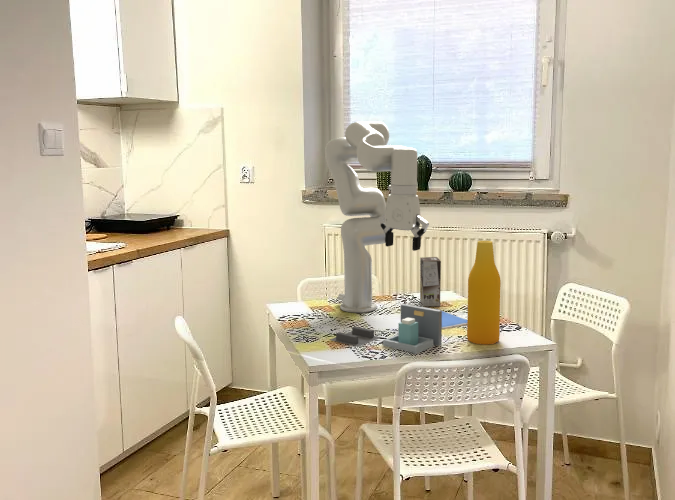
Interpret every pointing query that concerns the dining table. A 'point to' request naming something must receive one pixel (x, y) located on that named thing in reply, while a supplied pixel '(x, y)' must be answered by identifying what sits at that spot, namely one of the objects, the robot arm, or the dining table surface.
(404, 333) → the plug
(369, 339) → the grey ridged plate
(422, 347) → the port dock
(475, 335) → the beer bottle
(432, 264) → the coffee box
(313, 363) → the dining table surface
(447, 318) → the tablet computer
